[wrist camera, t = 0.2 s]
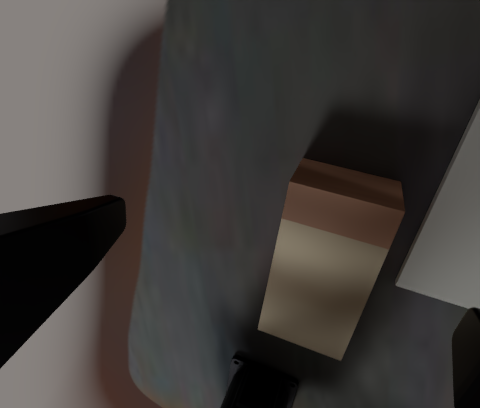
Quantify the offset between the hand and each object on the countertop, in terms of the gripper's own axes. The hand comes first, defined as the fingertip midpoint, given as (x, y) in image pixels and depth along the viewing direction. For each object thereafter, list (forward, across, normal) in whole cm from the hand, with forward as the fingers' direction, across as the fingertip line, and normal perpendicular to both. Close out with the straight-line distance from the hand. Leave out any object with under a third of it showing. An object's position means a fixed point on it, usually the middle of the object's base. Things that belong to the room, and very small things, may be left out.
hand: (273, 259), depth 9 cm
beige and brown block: (+14, -2, +8) cm, 16 cm away
